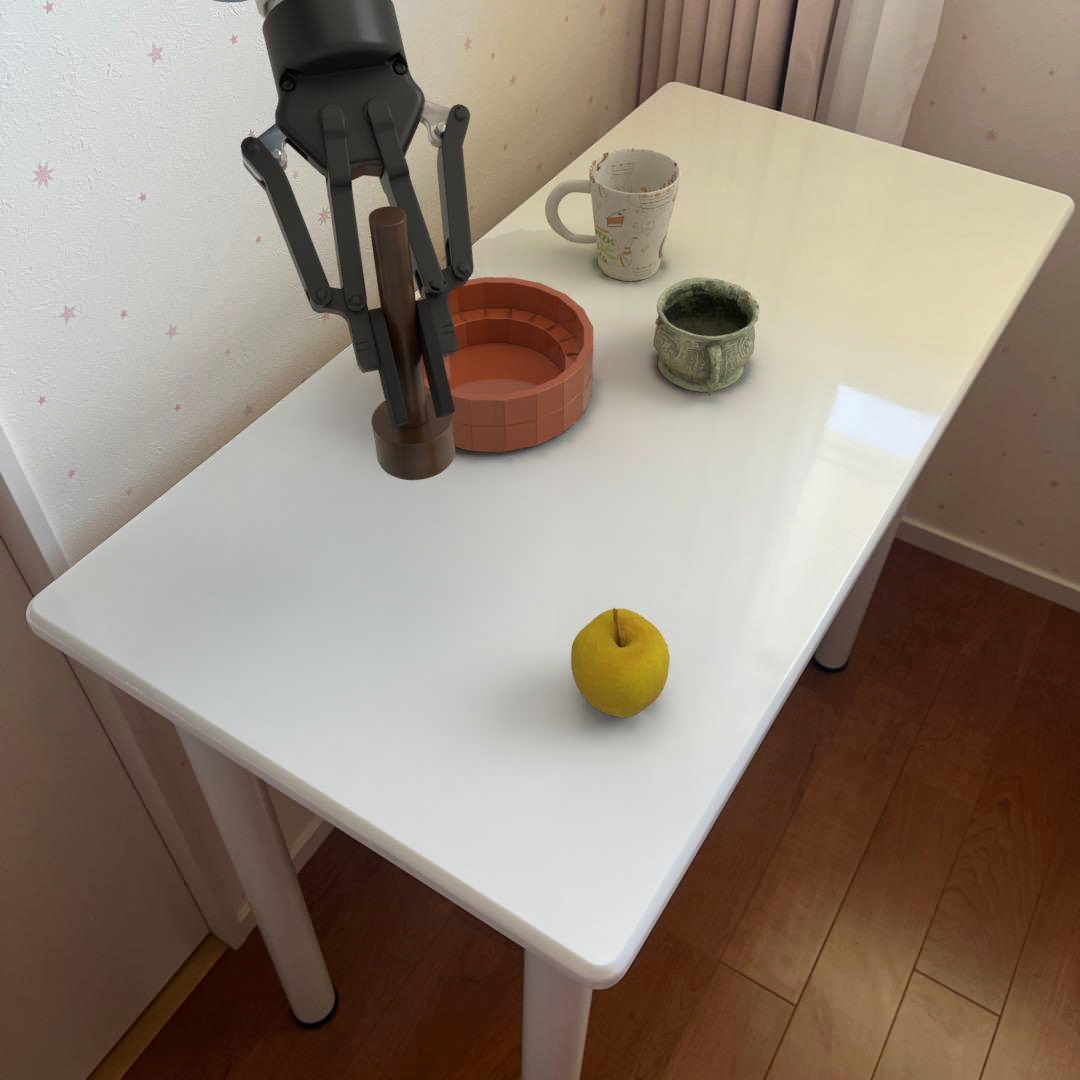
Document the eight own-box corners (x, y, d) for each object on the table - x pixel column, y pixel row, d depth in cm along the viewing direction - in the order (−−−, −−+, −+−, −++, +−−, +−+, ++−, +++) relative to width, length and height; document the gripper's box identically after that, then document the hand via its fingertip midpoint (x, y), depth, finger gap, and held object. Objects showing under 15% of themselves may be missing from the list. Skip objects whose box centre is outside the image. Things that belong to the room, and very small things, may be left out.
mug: (667, 292, 105) (677, 197, 98) (537, 280, 106) (537, 186, 99) (674, 244, 111) (683, 151, 103) (550, 234, 112) (551, 141, 105)
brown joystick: (372, 479, 69) (332, 241, 56) (382, 426, 72) (347, 190, 60) (451, 481, 69) (430, 242, 56) (458, 427, 72) (439, 191, 60)
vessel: (643, 326, 101) (648, 267, 97) (738, 322, 102) (747, 264, 97) (659, 411, 93) (665, 351, 89) (763, 407, 94) (774, 348, 89)
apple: (600, 646, 76) (604, 569, 71) (681, 687, 74) (693, 612, 68) (550, 710, 73) (550, 636, 67) (634, 756, 70) (642, 683, 65)
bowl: (387, 455, 90) (379, 398, 85) (409, 331, 101) (403, 275, 97) (591, 458, 89) (594, 401, 85) (590, 334, 101) (592, 278, 96)
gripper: (447, 21, 67) (533, 400, 69) (196, 56, 64) (293, 452, 66) (465, -41, 60) (562, 385, 61) (183, -4, 57) (292, 443, 58)
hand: (423, 419), depth 64 cm, fingers closed on brown joystick, 2 cm apart
